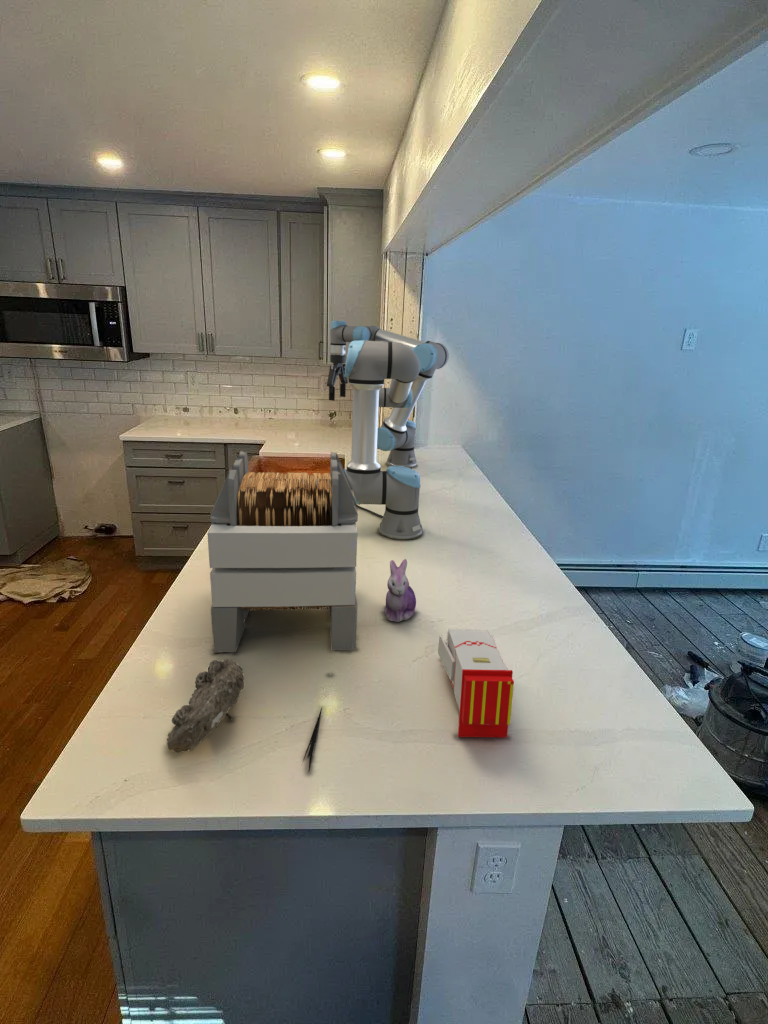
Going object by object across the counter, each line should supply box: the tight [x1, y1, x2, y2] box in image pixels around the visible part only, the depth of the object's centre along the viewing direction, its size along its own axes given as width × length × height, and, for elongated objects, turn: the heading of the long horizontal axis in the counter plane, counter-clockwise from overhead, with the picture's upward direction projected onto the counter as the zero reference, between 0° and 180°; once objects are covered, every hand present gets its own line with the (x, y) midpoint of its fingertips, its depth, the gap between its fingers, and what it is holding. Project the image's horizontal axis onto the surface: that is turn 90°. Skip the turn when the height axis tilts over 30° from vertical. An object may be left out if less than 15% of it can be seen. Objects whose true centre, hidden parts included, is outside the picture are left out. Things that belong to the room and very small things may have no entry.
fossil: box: [166, 658, 245, 754], centre depth 106 cm, size 22×10×15 cm
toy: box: [437, 628, 515, 738], centre depth 117 cm, size 12×13×30 cm
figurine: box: [384, 558, 417, 623], centre depth 145 cm, size 9×10×15 cm
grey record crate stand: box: [206, 450, 359, 654], centre depth 137 cm, size 34×33×41 cm
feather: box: [301, 673, 332, 771], centre depth 108 cm, size 2×28×2 cm
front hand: (362, 471), depth 242 cm, fingers closed on brick, 5 cm apart
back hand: (337, 398), depth 281 cm, fingers open, 13 cm apart
